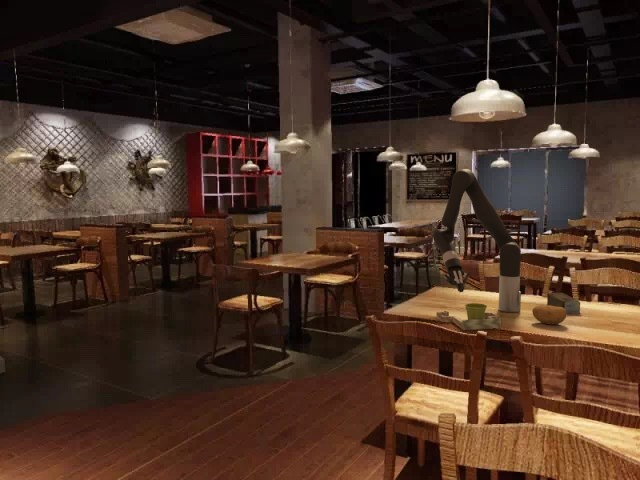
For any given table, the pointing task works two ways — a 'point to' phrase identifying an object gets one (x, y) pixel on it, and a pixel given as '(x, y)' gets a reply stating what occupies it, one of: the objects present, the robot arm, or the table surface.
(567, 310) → the beverage carton
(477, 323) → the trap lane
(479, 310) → the plant pot
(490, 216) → the robot arm
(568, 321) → the table surface
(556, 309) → the potato
